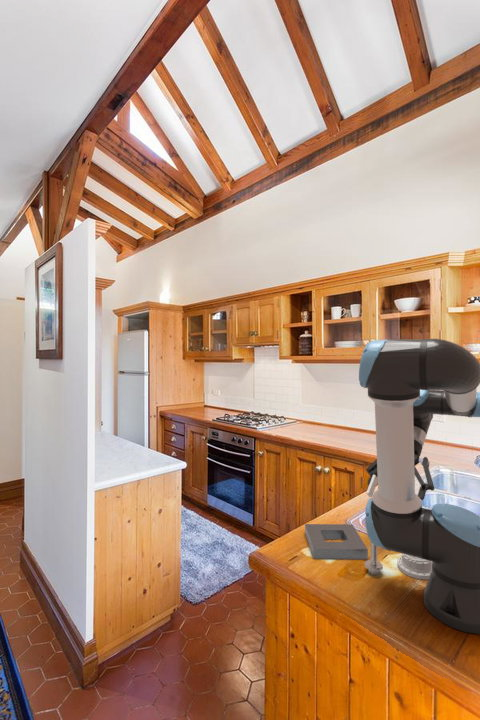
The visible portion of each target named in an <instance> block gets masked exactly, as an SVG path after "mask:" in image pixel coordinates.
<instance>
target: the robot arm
mask: <svg viewBox="0 0 480 720" xmlns="http://www.w3.org/2000/svg"><path fill="white" fill-rule="evenodd" d="M358 381H359V385H360V387H361V388H364V389H367V396H368V398H369V399H370V400H372V402H373V403H374V418H375V443H376V459H375V460H374V461H373V462H372V463H371V464H369V466H367V467H366V469H365V471H366V472H367V474H368V475H369V476H368V477H369V478H368V480H367V484H368V487H367V490H366V491H365V492H366V495H367V496H368V498H369V499H368V500H367V502H366V505H365V511H364V512H365V517H364V518H365V521H364V522H365V529H366V533H367V537H368V539H369V542H372V543H373V544H374V545H376V546H377V548H382V549H384V550H387V551H388V552H395V553H399V554H401V555H402V554H406V555H410V556H414V557H417V558H421V559H425V560H429V561H432V572H431V574H430V577H429V579H428V580H427V581H426V585H425V587H424V590H423V604H424V607H425V608H426V610H427V611H428V612H429V613H430V614H431V615H432V616H433V617H434V618H435V619H437V621H440V622H441V623H443V624H445V625H447V626H448V627H450V628H452V629H455V630H458V631H460V632H465V633H467V634H468V633H469V634H476V635H480V515H478V514H476V513H475V512H473V511H472V510H468V509H467V508H464V507H461V506H458V505H454V504H450V503H436V504H434V505H433V506H432V507H431V509H430V508H425V507H423V502H422V501H424V499H425V496H426V493H427V491H431V492H432V491H434V490H435V485H434V482H433V479H432V474H431V471H430V460H429V458H428V457H426V456H424V457H421V454H422V450H423V447H424V445H425V442H426V438H427V435H428V432H429V428H430V426H431V422H432V420H433V418H434V415H441V416H454V417H455V416H456V417H465V418H467V417H468V418H480V392H479V391H478V392H477V388H478V387H479V386H480V362H479V360H478V358H476V356H475V354H473V353H471V352H470V351H469V350H468V349H466V348H464V347H463V346H461V345H460V344H457V343H455V342H453V341H449V340H446V339H440V338H417V339H416V338H414V339H413V338H408V339H407V338H405V339H402V338H401V339H400V338H398V339H396V338H395V339H388V338H387V339H386V338H385V339H378V340H372V341H369V342H368V343H367V344H366V345H365V346H364V349H363V350H362V354H361V357H360V361H359V368H358ZM418 464H421V466H422V468H423V471H424V475H425V479H426V482H427V483H425V481H424V480H423V478H422V476H421V474H420V473H419V470H418V469H417V468H416V466H417V465H418ZM415 479H416V480H417V481H418V483H419V485H417V486H415V485H416V482H415V481H416V480H415ZM376 486H377V490H376V491H375V489H376ZM415 487H416V488H415Z"/></svg>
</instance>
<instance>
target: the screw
mask: <svg viewBox="0 0 480 720" xmlns="http://www.w3.org/2000/svg"><path fill="white" fill-rule="evenodd" d="M369 542H370V555H369V556H370V558H369V559H366V561H365V562H364V567H365V568H366V569H367V570H368V573H370V574H371V575H374V576H378V575H379V572H381V571H382V570H383V569H384V566H383V563H382V562H380V561H378V546H376V545H374V544H373V543H372V542H371V541H369Z"/></svg>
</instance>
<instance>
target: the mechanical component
mask: <svg viewBox="0 0 480 720" xmlns="http://www.w3.org/2000/svg"><path fill="white" fill-rule="evenodd" d="M396 565H397V568H398V570H399V571H400V572H401V573H403V575H406V576H407V577H410V578H412V579H416V580H427V581H428V579H429V577H430V574H431V572H432V561H429V560H425V559H421V558H417V557H414V556H410V555H406V554H402V553H401V556H400V557H398V558H397V563H396Z"/></svg>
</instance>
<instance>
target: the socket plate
mask: <svg viewBox="0 0 480 720" xmlns="http://www.w3.org/2000/svg"><path fill="white" fill-rule="evenodd" d="M304 535H305V538H306V540H307V544H308V546H309V550H310V552H311V555H312V558H313V559H314V560H369V556H368V555H369V550H368V547H367V546H366V543H365V542H364V541H363V539H362V538H361V536H360V534H359V533H358V531H357V530H356V528H355V526H354V525H353V524H352V523H349V524H348V523H346V524H342V523H339V524H338V523H337V524H335V523H333V524H332V523H330V524H328V523H320V524H319V523H306V524H304ZM325 540H343V541H325Z"/></svg>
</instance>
